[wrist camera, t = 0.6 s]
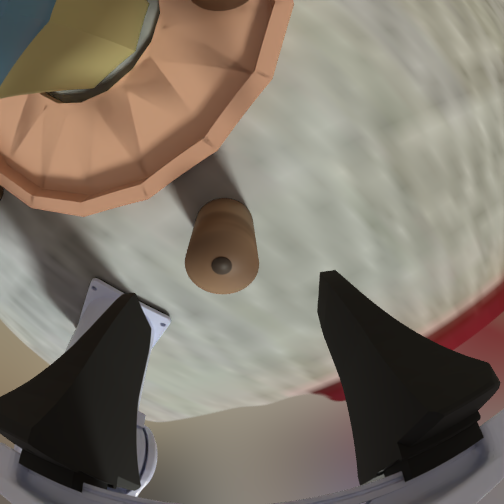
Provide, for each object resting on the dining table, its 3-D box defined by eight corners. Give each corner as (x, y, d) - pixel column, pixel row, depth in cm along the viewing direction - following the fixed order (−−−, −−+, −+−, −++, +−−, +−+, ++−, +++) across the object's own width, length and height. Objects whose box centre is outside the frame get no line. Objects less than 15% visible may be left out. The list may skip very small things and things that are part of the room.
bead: (232, 258, 20) (232, 305, 16) (185, 232, 19) (172, 274, 15) (264, 218, 19) (274, 257, 14) (215, 187, 17) (209, 218, 13)
